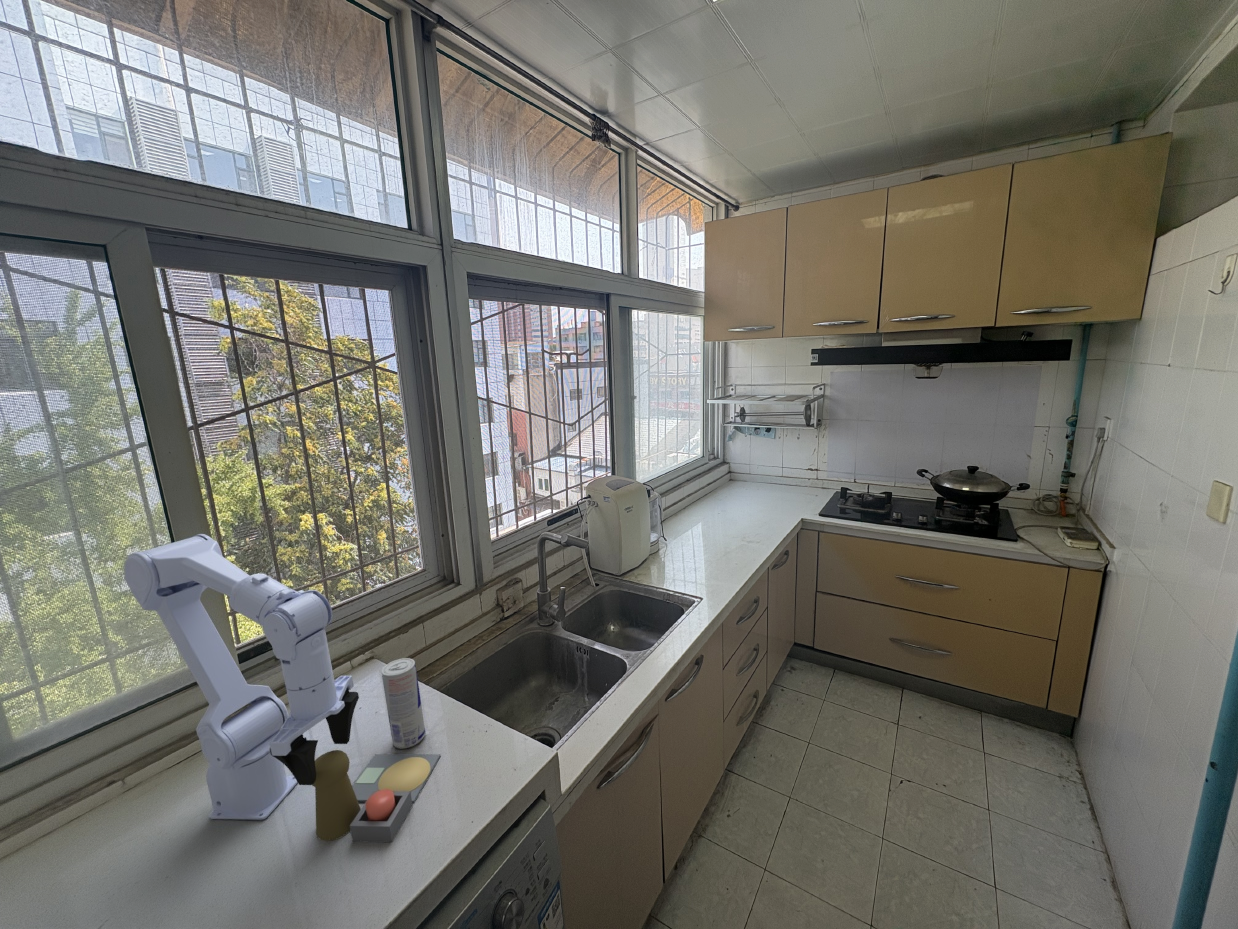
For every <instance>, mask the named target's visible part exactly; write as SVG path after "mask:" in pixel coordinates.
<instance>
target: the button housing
mask: <svg viewBox="0 0 1238 929" xmlns="http://www.w3.org/2000/svg"><path fill="white" fill-rule="evenodd" d="M376 792H378V791H373V792H372V794H371V795H373V794H374V793H376ZM393 793H394V799H395V805H396V808H395V809H394V811H393V813H392V814H391V816H390V818H389V819H388V821H368V818H367V812H366V806H365V805H366V802H367V801H366V802H364V803H363V806H362V807H360V808H361V810H360V811H359V813H358V814H357V816H356V817H355V819H354V820H353V822H352V823H351V825H350V834H351V835H350V836H351V841H352V842H370V843H371V842H372V843H373V842H375V843H378V842H379V843H380V842H382V843H384V842H385V843H393V841H394V839H395V838H396V836H397V834H398V832H399V830H400V829H401V827H402V826H403V824H404V822H405V820H406V818H407V816H408V815H409V813H410V811H411V809H413V808H412V807H413V803H412V798H411V792H410V791H393ZM371 795H370V796H371Z"/></svg>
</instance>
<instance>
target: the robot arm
mask: <svg viewBox="0 0 1238 929" xmlns="http://www.w3.org/2000/svg"><path fill="white" fill-rule="evenodd" d="M123 570H124V573H123V576H124V581H125V583H126V584H127V586H128V588H129V589H130V591H131V593H132V595H133V597H134V598H135V600H136V602H137V603H138V604H139V605H140V607H141V609H142V610H143V611H152V612H153V611H154V612H156V613H157V614H158V616H159V618H160V620H161V622H162V623H163V625H164V627H165V628H166V630H167V632H168V634H169V636H170V638H171V640H172V641H173V642H174V644H175V646H176V648H177V649H178V651H179V653H180V654H181V657H182V659H183V660H184V662H185V664H186V666H187V667H188V669H189V671H190V672H191V674H192V677H193V679H194V680H195V681H196V683H197V685H198V686H199V689H200V691H201V692H202V694H203V696H204V697H205V699H206V701H207V702H208V704H209V705H208V706H207V709H206V711H205V712H204V714H203V716H202V717H201V719H200V721H199V722H198V724H197V725H196V728H195V731H196V735H197V737H198V739H199V742H200V746H201V752H202V754H203V757H204V758H205V759H206V761H207V762H208V763H209V765H208V767H207V771H206V779H205V780H206V783H207V784H206V785H207V789H208V792H209V793H208V794H209V796H210V801H211V804H212V809H213V811H211V813H210V814H209V816H208V818H209V819H211V820H212V819H214V820H265V819H267V818H268V816H270V815H271V813H273V811H274V810H275V809H276V808H277V807H278V806H279V804H280V803H281V802H282V801H283V800H284V799H285V798H286V796H287V795H288V794H289V793H290V792H291V791H292V790H293V788H295V786H296V785H297V784H298V785H299V786H312V785H313V784H314V782H315V781H316V768H315V760H316V749H317V745H318V744H319V743H318V742H319V740H318V739H317V740H316V739H312V740H311V739H309V740H308V739H307V737H305V736H304V734H305V732H307V731H309V730H310V729H312V728H313V727H315V726H316V725H317V724H319V723H320V722H322V721H323V720H326V723H327V725H328V729H329V732H330V737H331V740H332V742H333V744H334V745H347V744H348V743H349V742H350V737H351V731H352V730H351V729H352V722H353V721H352V720H353V716H354V712H355V710H356V706H357V704H358V700H359V699H360V696H359V692H357V691H350V690H351V689H353V688H354V686H355V685H354V680H353V675H339V676H338V677H337V678H336V679H335V677H334V673H333V667H332V661H331V655H330V651H329V645H328V644H329V643H328V639H327V638H328V637H327V634H326V629H325V628H326V627H327V626H329V625H330V624H331V622H332V619H333V609H332V606H331V603H330V601H329V600H328V599H327V598H326V596H324V594H322V593H321V592H320V591H318V590H316V589H308V590H302V589H301V590H298V591H297V590H294V589H293V588H291V587H289V586H287V585H285V584H283V583H282V582H280V581H277V579H275V578H272V577H271V576H269V575H267V574H266V573H254V574H248V573H247V572H245V571H244V570H242V569H241V568H240V567H238V565H235V564H234V563H232V562H231V561H230V560H229V559H227V558H225V557H224V556H223V553H222V550H221V547H220V545H219V543H218V541H217V540H216V539H214V538H212V537H211V536H209V535H207V534H204V533H198V534H195V535H193V536H192V537H187V538H185V539H182V540H178V541H174V542H171V543H168V544H164V545H160V546H157V547H154V548H150V549H146V550H143V551H135V552H132V553H130V554H129V555H128V556H127V557H126V560H125V562H124V566H123ZM208 588H209V589H212V590H214V591H215V592H218V593H220V594H223V595H225V596H227V597H229V599H228V600H229V606H230V608H231V609H232V610H233V611H235V612H237V613H238V614H240V615H242V616H244V617H246V618H247V619H249V620H251V621H252V622H254V623H256V624H258V625H259V626H260V627H261V629H262V632H263V634H264V636H265V639H266V640H267V641H268V642H269V644H270V645H271V646H272V647H271V648H272V651H273V655H275V658H276V659H278V660H280V666H281V670H282V675H283V680H284V685H285V690H286V694H287V695H286V696H287V699H288V706H289V709H290V710H289V711H290V712H289V711H288V709H287V706H286V704H285V703H284V702H283V701H282V699H280V698H279V697H277V695H276V694H275V693H274V692H273V691H272V689H271V688H270V686H269V685H261V684H260V685H259V684H249V683H247V681H246V679H245V677H244V675H243V674H242V672H241V670H240V668H239V666H238V665H237V663H236V662H235V659H234V658H233V655H232V654H231V653H230V651H229V649H228V647H227V645H226V644H225V641H224V640H223V638H222V637H221V635H220V633H219V632H218V630H217V628H216V626H215V624H214V622H213V621H212V619H211V617H210V616H209V614H208V612H207V610H206V608H205V606H204V605H203V603H202V601H201V597H202V593H203V592H204V591H205V590H207V589H208ZM249 704H250V705H249ZM246 705H248V706H246ZM245 706H246V707H245ZM243 707H245V708H243ZM242 708H243V709H242ZM240 709H242V710H241V711H239V712H238V713H236V714H234V713H235V712H237V711H238V710H240ZM288 712H289V713H288ZM232 714H234V715H233V716H231V715H232ZM229 716H231V717H229ZM228 717H229V718H228ZM226 718H227V719H226ZM225 719H226V720H225ZM285 767H286V768H287V769H288V770H289V772H290V773H291V775H287V774H286V769H285Z"/></svg>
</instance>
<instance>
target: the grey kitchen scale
mask: <svg viewBox="0 0 1238 929" xmlns="http://www.w3.org/2000/svg"><path fill="white" fill-rule="evenodd" d="M440 758H441V754H439V753H438V754H435V753H434V754H429V753H428V754H425V753H423V754H418V753H416V754H414V753H413V754H412V753H406V754H405V753H403V754H402V753H400V754H399V753H395V754H394V753H381V754H380V753H377V754H374V755H373V756H372V758H371V759H370V760H369V762H368V763H367V764H366V765H365V767H364V768H363V769H362V771H361V773H360V774H359V775H358V777H357V778H356V779H355V781H354V782H353V783H352V787H353V790H354V792H355V795H356V798H357V800H358V803H366V801H367V800H368V798H369V797H370V795H371V794H372V792H373V791H380V790H383V789H389V790H392V791H410V792H411V798H412V804H414V803H416V801H417V798H418V797H419V796H420V794H421V792H422V790H423V789H424V787H425V784H426V783H427V781H428V779H429V778H430V776H431V775H432V772H433V770H434V768H435V767H436V766H437V764H438V762H439V759H440Z"/></svg>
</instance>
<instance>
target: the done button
mask: <svg viewBox="0 0 1238 929" xmlns="http://www.w3.org/2000/svg"><path fill="white" fill-rule="evenodd" d="M365 803H366V805H365V806H366V812H367V818H368V821H388V819H389V818H390V816H391V814H392V813H393V811H394V809H395V808H396V805H395V799H394V793H393V791H392V790H389V789H383V790H380V791H378V792H376V793H374V794H373V795H371V796H370V797H369V798H368V800H367V802H365Z"/></svg>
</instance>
